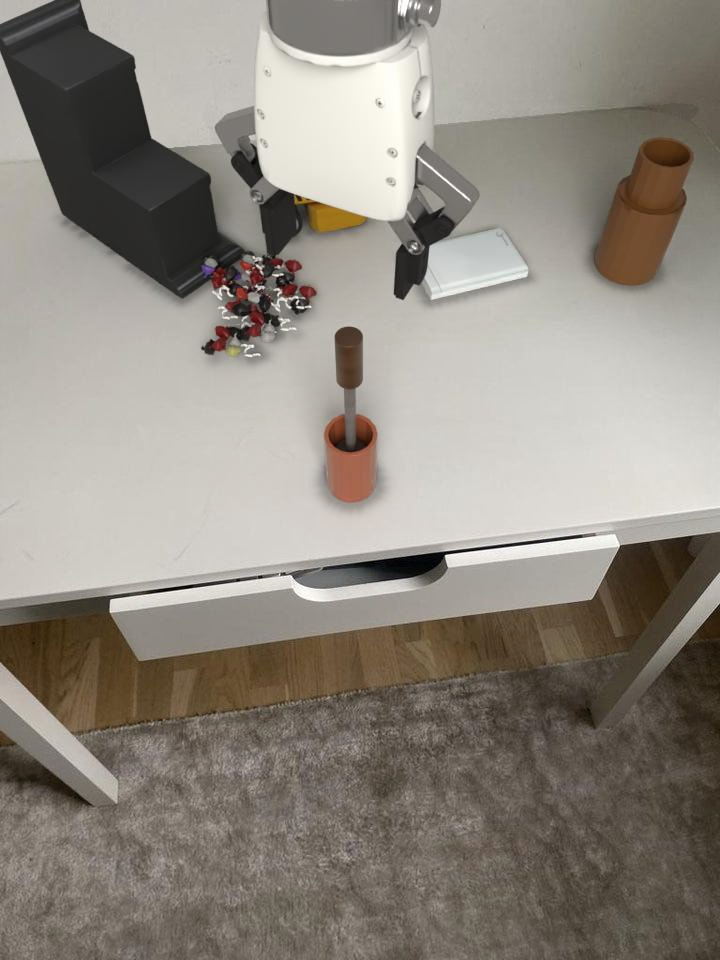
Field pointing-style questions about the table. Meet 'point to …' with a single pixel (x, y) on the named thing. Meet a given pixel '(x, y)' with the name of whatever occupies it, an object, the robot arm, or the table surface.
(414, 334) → the table surface
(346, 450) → the brush
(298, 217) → the toy roller
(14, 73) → the black stepped block
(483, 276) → the hard drive
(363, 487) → the holder
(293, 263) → the toy collection
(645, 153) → the flask
